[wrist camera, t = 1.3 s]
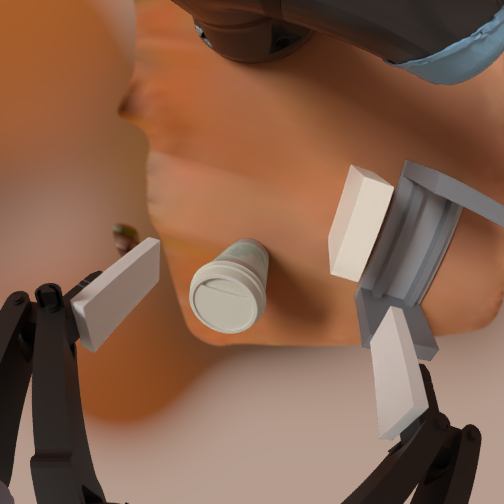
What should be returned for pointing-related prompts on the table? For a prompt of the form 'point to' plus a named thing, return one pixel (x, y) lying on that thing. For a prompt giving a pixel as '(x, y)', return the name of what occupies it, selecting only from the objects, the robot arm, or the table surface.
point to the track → (415, 250)
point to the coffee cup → (232, 288)
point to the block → (357, 222)
